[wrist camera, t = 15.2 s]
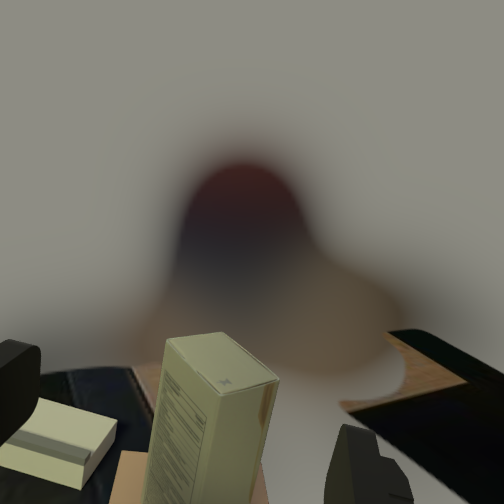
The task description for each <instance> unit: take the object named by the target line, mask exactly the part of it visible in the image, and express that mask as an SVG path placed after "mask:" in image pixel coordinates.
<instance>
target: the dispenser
mask: <svg viewBox="0 0 504 504" xmlns="http://www.w3.org/2000/svg"><path fill="white" fill-rule="evenodd" d="M117 421H118V420H115V419H112V418H108V417H105V416H101V415H98V414H94V413H91V412H87V411H84V410H80V409H77V408H73V407H70V406H67V405H63V404H60V403H56V402H53V401H49V400H46V399H42V398H39V400H38V403H37V406H36V408H35V410H34V412H33V414H32V416H31V417H30V418H29V420H28V421H27V422H26V423H25V424H24V425H23V426H22V427H21V428H20V429H19V430H18V431H16V432H15V433H14V434H13V435H12V436H11V437H10V438H9V439H8V440H7V441H6V442H5V443H4V444H3V445H2V446H1V447H0V466H3V467H7V468H10V469H13V470H17V471H20V472H23V473H26V474H30V475H33V476H36V477H40V478H43V479H46V480H49V481H53V482H56V483H59V484H63V485H66V486H69V487H72V488H76V489H79V490H81V489H82V488H83V486H84V485H85V483H86V482H87V480H88V479H89V477H90V476H91V475H92V473H93V472H94V470H95V469H96V467H97V466H98V464H99V463H100V461H101V460H102V458H103V457H104V455H105V454H106V453H107V451H108V450H109V448H110V447H111V445H112V444H113V442H114V440H115V434H116V427H117Z"/></svg>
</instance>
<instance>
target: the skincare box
mask: <svg viewBox="0 0 504 504" xmlns="http://www.w3.org/2000/svg"><path fill="white" fill-rule="evenodd" d="M279 381H280V379H279V377H278V376H276V375H275V374H274V373H273V372H272V371H270V370H269V369H268V368H267V367H266V366H265V365H264V364H262V363H261V362H260V361H259V360H257V359H256V358H255V357H254V356H252V355H251V354H250V353H249V352H248V351H246V350H245V349H244V348H243V347H241V346H240V345H239V344H238V343H236V342H235V341H234V340H232V339H231V338H230V337H228V336H227V335H226V334H225V333H223V332H216V333H209V334H202V335H194V336H186V337H179V338H170V339H167V340H166V345H165V352H164V358H163V364H162V370H161V377H160V383H159V389H158V395H157V402H156V408H155V414H154V420H153V427H152V433H151V439H150V445H149V452H148V458H147V464H146V470H145V477H144V483H143V489H142V495H141V504H250V503H251V498H252V495H253V490H254V486H255V482H256V478H257V474H258V470H259V465H260V461H261V457H262V453H263V448H264V444H265V440H266V436H267V431H268V427H269V423H270V418H271V414H272V410H273V406H274V402H275V398H276V393H277V389H278V385H279Z"/></svg>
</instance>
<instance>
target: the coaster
mask: <svg viewBox="0 0 504 504" xmlns="http://www.w3.org/2000/svg"><path fill="white" fill-rule="evenodd" d="M147 458H148V453H144V452H132V451H122V453H121V457H120V461H119V465H118V469H117V473H116V477H115V481H114V485H113V489H112V493H111V497H110V501H109V504H141V495H142V489H143V483H144V477H145V470H146V464H147ZM250 504H269V502H268V497H267V491H266V486H265V481H264V475H263V470H262V464H261V462H260V465H259V470H258V474H257V478H256V482H255V486H254V490H253V495H252V498H251V503H250Z"/></svg>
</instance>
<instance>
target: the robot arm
mask: <svg viewBox="0 0 504 504" xmlns="http://www.w3.org/2000/svg"><path fill="white" fill-rule="evenodd" d="M40 366H41V351H40V348H39V347H38V346H35V345H31V344H27V343H23V342H19V341H15V340H11V339H8V340H5V341H3V342H2V343H0V447H1V446H2V445H3V444H4V443H5V442H6V441H7V440H8V439H9V438H10V437H11V436H12V435H13V434H14V433H15V432H16V431H18V430H19V429H20V428H21V427H22V426H23V425H24V424H25V423H26V422H27V421H28V420H29V418H30V417H31V416H32V414H33V412H34V410H35V408H36V406H37V403H38V400H39V389H40ZM324 504H414V498H413V495H412V492H411V488H410V485H409V481H408V479H407V477H406V476H405V474H404V473H403V471H402V470H401V469H400V467H399V466H398V465H397V463H396V462H395V460H394V459H391V458H387V457H383V456H380V453H379V449H378V445H377V440H376V435H375V432H374V431H371V430H367V429H363V428H359V427H355V426H351V425H347V424H343V425H342V426H341V428H340V431H339V435H338V438H337V442H336V445H335V449H334V452H333V455H332V459H331V462H330V466H329V469H328V473H327V477H326V482H325V490H324Z"/></svg>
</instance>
